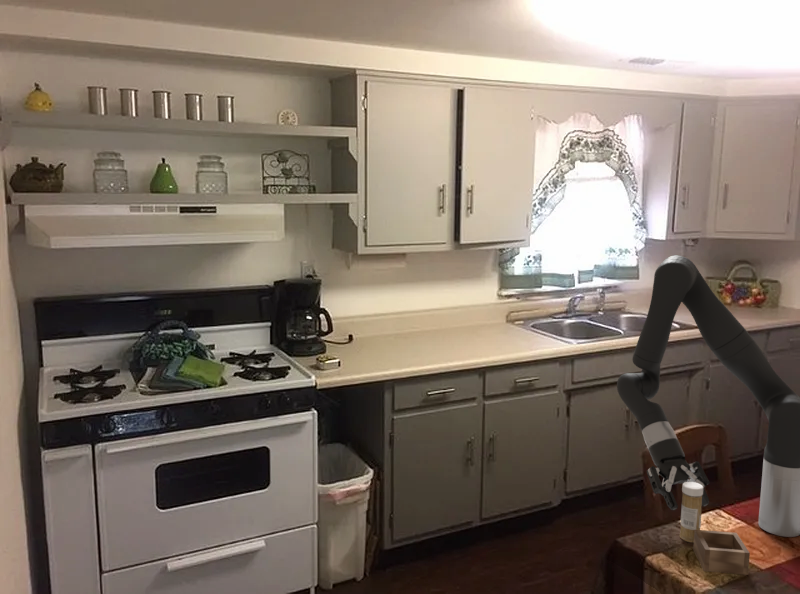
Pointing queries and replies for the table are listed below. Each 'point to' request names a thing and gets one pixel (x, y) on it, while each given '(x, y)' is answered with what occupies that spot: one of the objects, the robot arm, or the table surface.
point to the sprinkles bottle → (691, 510)
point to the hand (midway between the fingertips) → (690, 507)
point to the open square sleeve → (721, 552)
